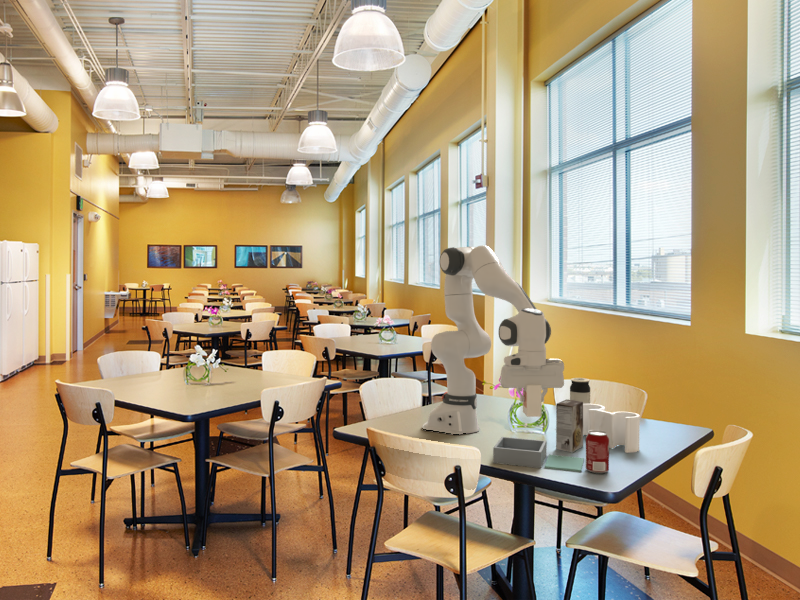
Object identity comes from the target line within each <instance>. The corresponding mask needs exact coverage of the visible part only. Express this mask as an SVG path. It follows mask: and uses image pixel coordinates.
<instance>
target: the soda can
mask: <svg viewBox="0 0 800 600" xmlns="http://www.w3.org/2000/svg"><path fill="white" fill-rule="evenodd" d="M609 467H610V447H609V438H608V437H607V433H606V432H604V431H599V430H591V431H588V435H587V436H585V470H587V471H588V472H590V473H591V472H592V473H593V474H596V473H597V474H598V475H603V474H605V473H608V472H609V470H610V469H609ZM597 474H596V475H597Z"/></svg>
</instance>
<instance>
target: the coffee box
mask: <svg viewBox="0 0 800 600" xmlns="http://www.w3.org/2000/svg"><path fill="white" fill-rule="evenodd" d="M555 410H556V413H555V414H556V417H555V418H556V420H555V422H556V423H555V424H556V425H555V427H556V428H555V430H556V431H555V435H556V436H555V445H556V446H555V449H556V450H559V451H564V452H569V453H574V452H575V451H578V450H579V449H582V448H583V447H584V436H583V402H580V401H575V400H570V399H565V400H562V401H560V402H557V403H556V409H555Z"/></svg>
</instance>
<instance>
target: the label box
mask: <svg viewBox="0 0 800 600" xmlns="http://www.w3.org/2000/svg"><path fill="white" fill-rule="evenodd" d="M541 394H542V388H541V385H540V384H526V388H522V396H525V402H522V413H523V414H524V415H525V416H526V417H529V418H531V417H534V418H535V417H537V418H540V417H542V402H541Z"/></svg>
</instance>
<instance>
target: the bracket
mask: <svg viewBox="0 0 800 600" xmlns="http://www.w3.org/2000/svg"><path fill="white" fill-rule="evenodd" d="M640 416H641V415H640V414H639V413H636V412H631V411H630V412H629V411H613V412H612V411H611V412H610V411H606V407H605V406H604V405H601V404H597V403H596V404H595V403H590V404H583V435H588V431H591V430H599V431H604V432H606V433H607V437H608V438H609V449H612V448H613V449H616V447H618V446H617V445H625V446H624V453H626V454H630V453H636V452H637V451H638V452H639V451H640V424H641V423H640ZM615 446H616V447H615Z"/></svg>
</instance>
